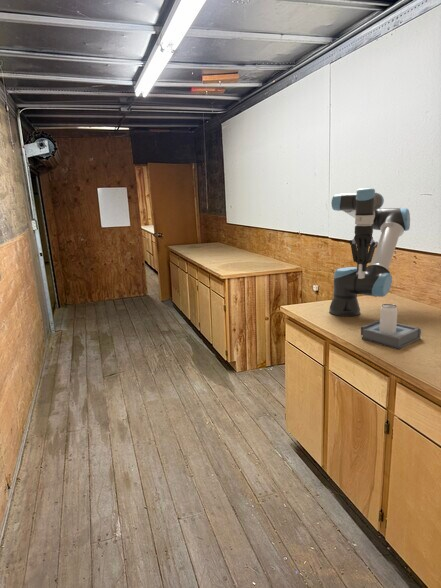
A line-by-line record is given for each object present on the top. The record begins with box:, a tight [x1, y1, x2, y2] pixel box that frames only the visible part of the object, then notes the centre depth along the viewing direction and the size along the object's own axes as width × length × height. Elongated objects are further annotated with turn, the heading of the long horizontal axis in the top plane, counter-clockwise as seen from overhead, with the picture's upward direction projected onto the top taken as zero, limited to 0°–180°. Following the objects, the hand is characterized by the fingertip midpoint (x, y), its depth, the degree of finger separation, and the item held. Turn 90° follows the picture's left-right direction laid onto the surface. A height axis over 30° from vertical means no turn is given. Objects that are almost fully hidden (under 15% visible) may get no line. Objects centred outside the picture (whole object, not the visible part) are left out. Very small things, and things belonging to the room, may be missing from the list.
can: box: [379, 303, 398, 335], centre depth 162 cm, size 6×6×12 cm
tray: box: [360, 319, 412, 337], centre depth 164 cm, size 15×14×4 cm
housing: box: [361, 322, 422, 351], centre depth 163 cm, size 16×18×4 cm
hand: (361, 278), depth 176 cm, fingers closed
